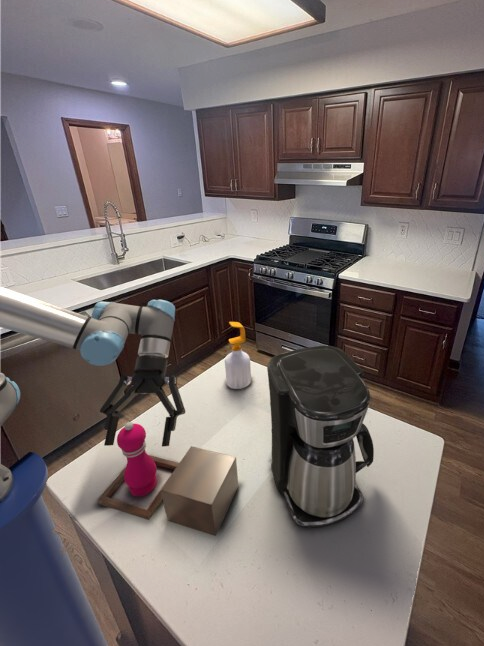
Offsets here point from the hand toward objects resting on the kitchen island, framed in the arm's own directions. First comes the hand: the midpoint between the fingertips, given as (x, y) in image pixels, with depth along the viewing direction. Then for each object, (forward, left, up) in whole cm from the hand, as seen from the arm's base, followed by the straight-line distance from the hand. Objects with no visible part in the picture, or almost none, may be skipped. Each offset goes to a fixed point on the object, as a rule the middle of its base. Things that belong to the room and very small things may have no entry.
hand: (136, 446), depth 74 cm
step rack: (+8, -1, -12) cm, 15 cm away
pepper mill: (0, -1, -12) cm, 12 cm away
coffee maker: (+41, +16, -12) cm, 46 cm away
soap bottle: (+6, +44, -12) cm, 46 cm away
